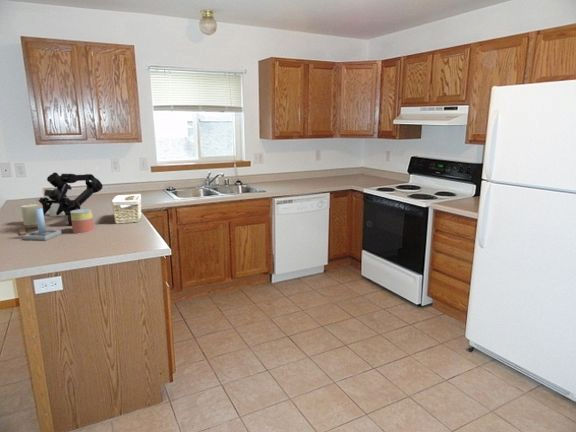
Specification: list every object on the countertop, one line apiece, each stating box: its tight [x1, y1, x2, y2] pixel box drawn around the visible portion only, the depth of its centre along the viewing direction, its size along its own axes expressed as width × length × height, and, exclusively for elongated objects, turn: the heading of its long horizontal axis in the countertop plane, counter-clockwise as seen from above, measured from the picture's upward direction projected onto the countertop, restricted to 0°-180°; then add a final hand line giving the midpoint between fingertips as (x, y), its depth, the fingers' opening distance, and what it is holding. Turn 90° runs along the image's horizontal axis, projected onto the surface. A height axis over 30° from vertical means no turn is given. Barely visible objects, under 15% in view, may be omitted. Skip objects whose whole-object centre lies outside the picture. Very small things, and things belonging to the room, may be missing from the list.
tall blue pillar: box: [34, 207, 52, 236], centre depth 219 cm, size 7×5×15 cm
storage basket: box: [111, 193, 142, 224], centre depth 257 cm, size 24×16×15 cm
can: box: [20, 203, 39, 226], centre depth 248 cm, size 9×9×12 cm
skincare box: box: [45, 196, 66, 217], centre depth 269 cm, size 8×6×15 cm
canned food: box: [70, 208, 95, 234], centre depth 231 cm, size 11×11×12 cm
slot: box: [18, 225, 38, 237], centre depth 232 cm, size 14×12×1 cm
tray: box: [22, 229, 63, 242], centre depth 220 cm, size 13×13×2 cm
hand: (50, 214), depth 226 cm, fingers open, 9 cm apart
